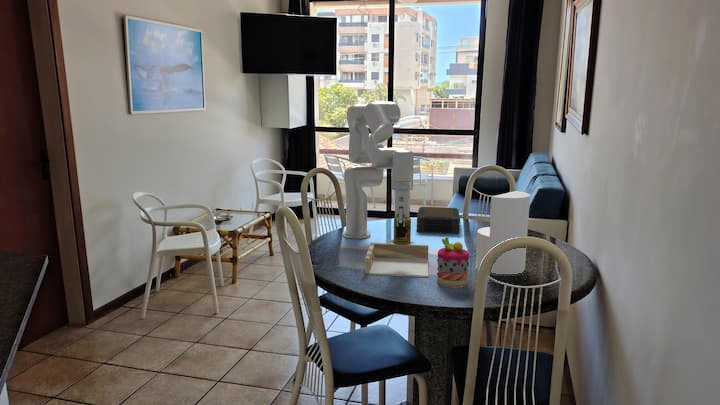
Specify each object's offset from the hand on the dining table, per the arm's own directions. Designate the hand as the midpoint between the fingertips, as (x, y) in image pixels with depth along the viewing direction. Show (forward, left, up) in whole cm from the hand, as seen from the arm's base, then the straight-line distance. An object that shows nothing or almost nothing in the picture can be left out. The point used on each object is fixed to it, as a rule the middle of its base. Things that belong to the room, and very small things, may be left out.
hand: (401, 234), depth 184 cm
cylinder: (-5, +36, -13) cm, 39 cm away
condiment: (-1, 0, -3) cm, 3 cm away
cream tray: (-2, -1, -13) cm, 13 cm away
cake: (+12, +18, -13) cm, 25 cm away
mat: (-2, -1, -13) cm, 13 cm away
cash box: (-67, +15, -13) cm, 70 cm away
